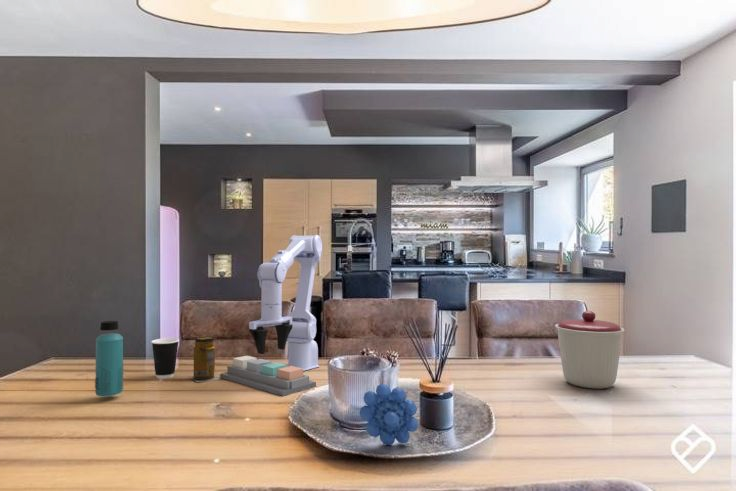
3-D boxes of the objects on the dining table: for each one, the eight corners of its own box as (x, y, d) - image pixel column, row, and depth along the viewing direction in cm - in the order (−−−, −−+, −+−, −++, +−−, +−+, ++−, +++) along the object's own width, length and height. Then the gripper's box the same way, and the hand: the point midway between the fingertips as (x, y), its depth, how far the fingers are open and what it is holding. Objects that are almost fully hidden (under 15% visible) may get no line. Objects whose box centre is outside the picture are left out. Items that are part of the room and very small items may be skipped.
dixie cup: (184, 373, 145) (184, 338, 145) (168, 380, 137) (169, 343, 137) (161, 372, 146) (161, 337, 147) (144, 379, 139) (145, 342, 139)
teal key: (275, 370, 137) (275, 362, 138) (286, 373, 134) (286, 364, 134) (261, 373, 134) (261, 365, 134) (272, 376, 130) (272, 368, 130)
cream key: (246, 363, 146) (246, 355, 146) (256, 365, 143) (256, 357, 143) (233, 366, 142) (233, 358, 143) (242, 368, 139) (242, 360, 139)
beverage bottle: (129, 396, 122) (130, 320, 122) (105, 404, 116) (106, 323, 116) (112, 393, 124) (113, 318, 125) (88, 400, 118) (89, 321, 119)
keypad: (252, 369, 150) (252, 360, 150) (315, 386, 132) (316, 374, 132) (220, 377, 141) (220, 366, 141) (283, 396, 122) (283, 384, 122)
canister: (609, 397, 121) (608, 316, 122) (543, 383, 135) (543, 310, 135) (635, 385, 133) (634, 311, 134) (572, 372, 147) (572, 306, 147)
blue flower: (361, 456, 86) (361, 391, 86) (358, 441, 93) (358, 381, 93) (423, 453, 87) (423, 389, 88) (415, 439, 94) (415, 379, 94)
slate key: (260, 366, 142) (260, 358, 142) (271, 369, 139) (271, 361, 139) (246, 369, 138) (246, 361, 138) (257, 372, 135) (257, 364, 135)
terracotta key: (291, 374, 133) (291, 365, 133) (303, 377, 130) (303, 368, 130) (277, 377, 129) (277, 369, 129) (289, 381, 126) (289, 372, 126)
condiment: (211, 373, 146) (212, 335, 146) (221, 379, 139) (221, 339, 139) (187, 377, 141) (188, 337, 142) (196, 383, 135) (196, 341, 135)
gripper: (281, 301, 142) (280, 345, 142) (242, 305, 131) (241, 353, 131) (297, 302, 138) (297, 348, 138) (258, 307, 127) (258, 357, 126)
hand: (271, 351), depth 134 cm, fingers open, 7 cm apart
